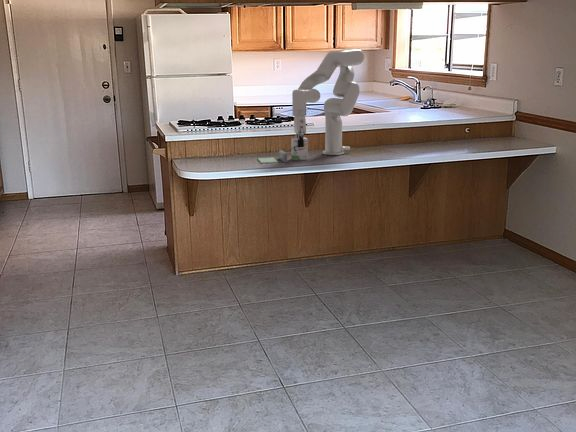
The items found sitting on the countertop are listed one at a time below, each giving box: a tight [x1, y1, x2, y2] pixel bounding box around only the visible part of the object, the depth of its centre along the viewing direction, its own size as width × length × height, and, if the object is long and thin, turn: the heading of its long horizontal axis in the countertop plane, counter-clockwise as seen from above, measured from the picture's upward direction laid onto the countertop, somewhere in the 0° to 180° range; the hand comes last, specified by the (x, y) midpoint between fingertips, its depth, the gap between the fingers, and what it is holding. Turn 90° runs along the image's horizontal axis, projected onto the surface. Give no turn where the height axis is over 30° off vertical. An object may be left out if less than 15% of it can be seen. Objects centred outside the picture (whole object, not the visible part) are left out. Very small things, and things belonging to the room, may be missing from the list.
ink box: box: [290, 136, 309, 161], centre depth 332 cm, size 8×5×12 cm, turn 101°
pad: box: [257, 157, 279, 164], centre depth 330 cm, size 9×13×1 cm
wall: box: [278, 149, 288, 163], centre depth 331 cm, size 2×13×4 cm, turn 12°
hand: (299, 145), depth 332 cm, fingers closed on ink box, 5 cm apart
